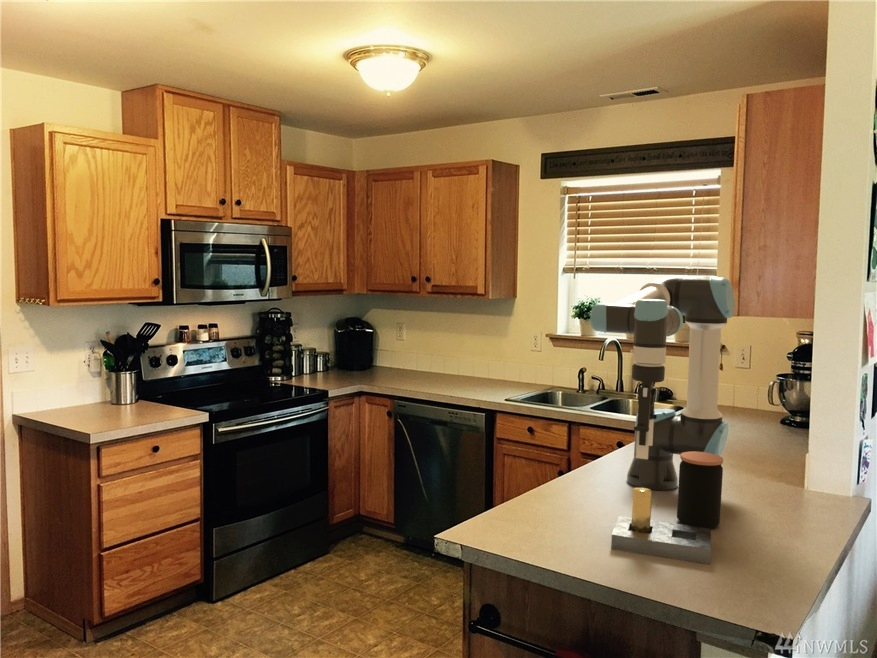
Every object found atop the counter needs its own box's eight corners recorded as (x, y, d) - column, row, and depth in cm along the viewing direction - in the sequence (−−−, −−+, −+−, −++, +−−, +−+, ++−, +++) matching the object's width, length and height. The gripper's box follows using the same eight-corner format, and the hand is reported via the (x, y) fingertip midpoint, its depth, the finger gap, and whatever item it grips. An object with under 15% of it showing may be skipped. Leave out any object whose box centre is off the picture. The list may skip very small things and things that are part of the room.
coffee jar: (709, 516, 194) (713, 451, 193) (726, 531, 184) (730, 462, 182) (670, 516, 194) (674, 451, 192) (685, 530, 183) (689, 461, 182)
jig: (618, 529, 183) (618, 515, 183) (710, 542, 176) (710, 528, 175) (611, 548, 170) (611, 534, 170) (710, 564, 163) (710, 549, 162)
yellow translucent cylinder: (631, 537, 178) (633, 486, 176) (650, 540, 176) (652, 488, 175) (629, 544, 173) (632, 491, 172) (648, 547, 172) (651, 494, 171)
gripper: (637, 357, 184) (633, 438, 186) (626, 369, 161) (622, 462, 162) (667, 359, 181) (663, 441, 183) (661, 372, 158) (656, 466, 160)
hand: (644, 451), depth 173 cm, fingers open, 13 cm apart
